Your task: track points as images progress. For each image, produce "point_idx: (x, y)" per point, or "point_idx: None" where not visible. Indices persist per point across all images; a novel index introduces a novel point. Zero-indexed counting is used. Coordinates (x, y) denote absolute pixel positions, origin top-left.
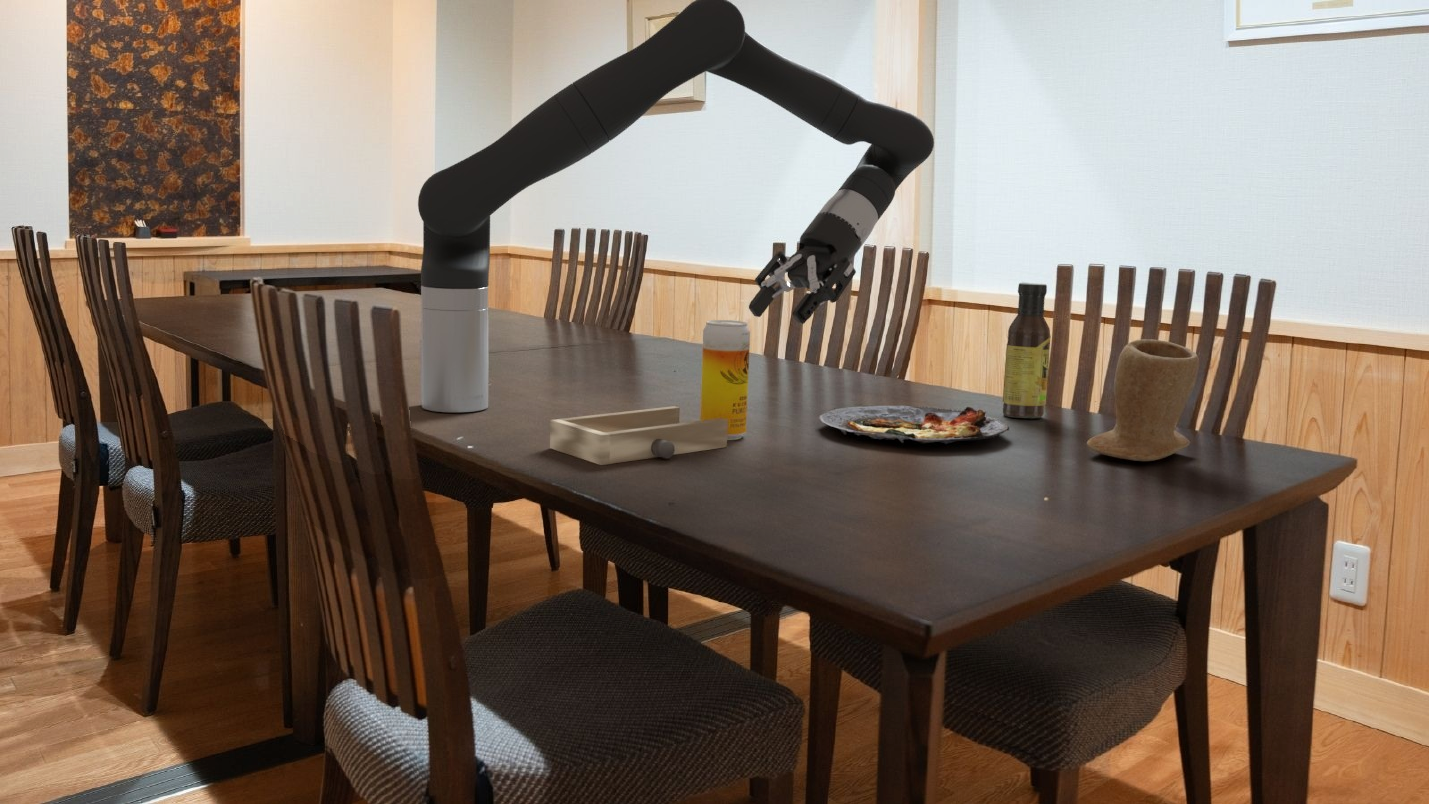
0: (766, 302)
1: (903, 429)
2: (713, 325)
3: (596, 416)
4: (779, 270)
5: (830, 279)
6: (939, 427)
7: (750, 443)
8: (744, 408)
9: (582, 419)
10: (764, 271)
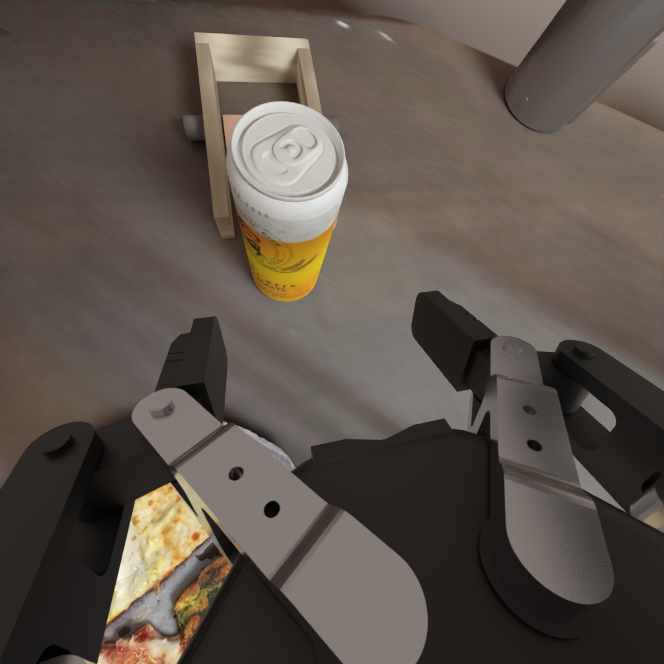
0: (440, 354)
1: (150, 561)
2: (273, 105)
3: (307, 89)
4: (525, 397)
5: (31, 509)
6: (124, 656)
7: (229, 281)
8: (252, 269)
9: (302, 71)
10: (632, 387)
